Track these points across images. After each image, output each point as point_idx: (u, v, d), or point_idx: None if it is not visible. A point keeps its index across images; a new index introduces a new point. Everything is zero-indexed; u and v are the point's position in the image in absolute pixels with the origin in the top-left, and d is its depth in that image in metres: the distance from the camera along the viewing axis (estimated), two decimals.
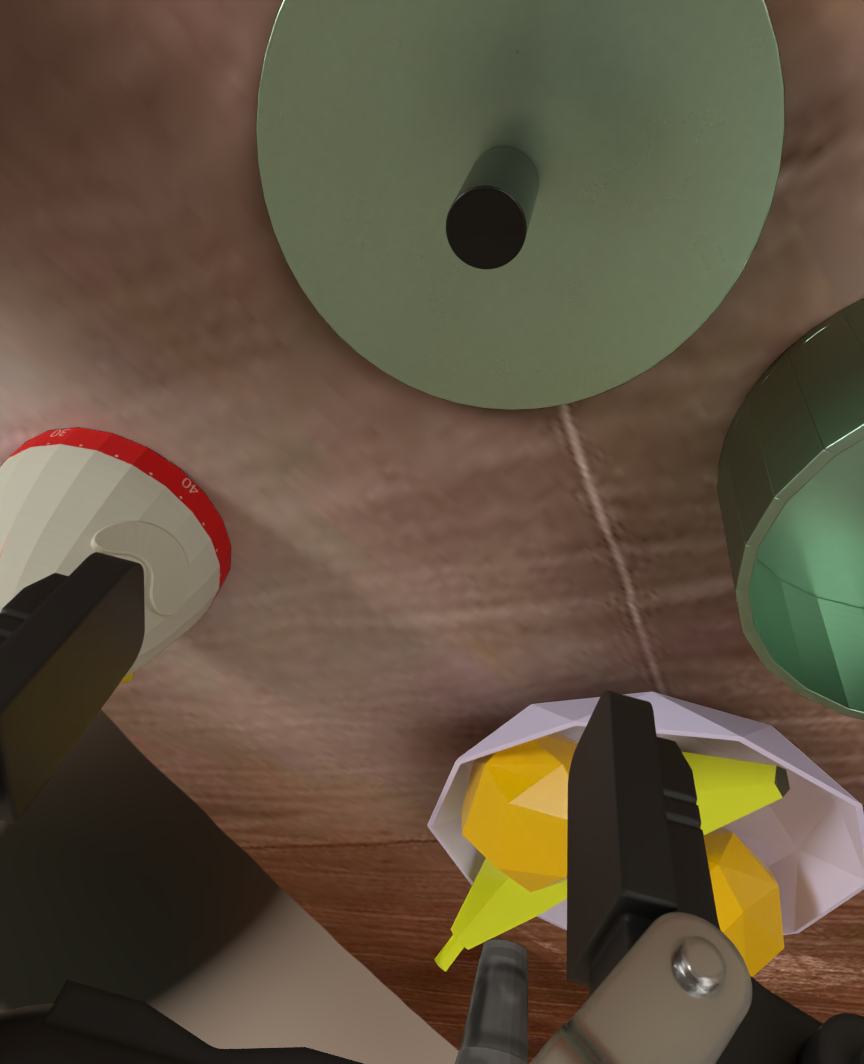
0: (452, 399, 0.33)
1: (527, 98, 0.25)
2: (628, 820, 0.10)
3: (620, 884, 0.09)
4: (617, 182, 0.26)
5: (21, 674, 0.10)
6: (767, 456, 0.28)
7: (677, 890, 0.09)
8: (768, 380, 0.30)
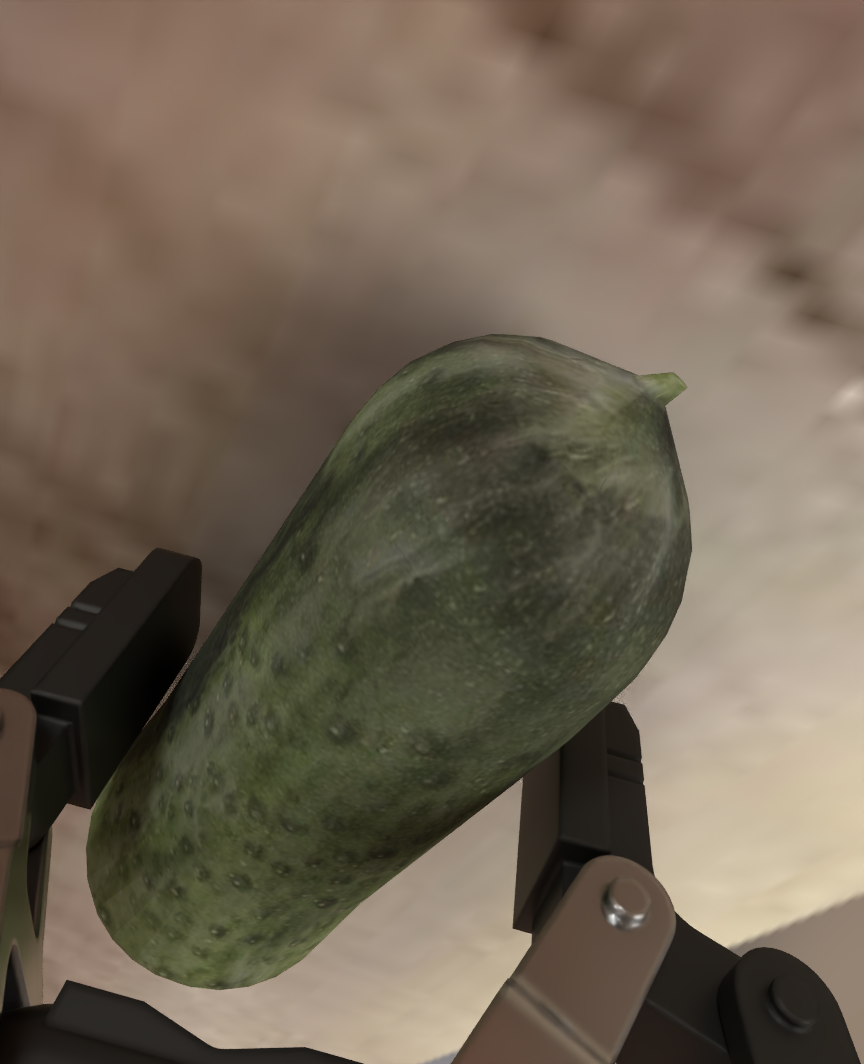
0: None
1: None
2: (569, 773, 0.10)
3: (558, 831, 0.09)
4: None
5: (100, 664, 0.10)
6: None
7: (615, 839, 0.10)
8: None
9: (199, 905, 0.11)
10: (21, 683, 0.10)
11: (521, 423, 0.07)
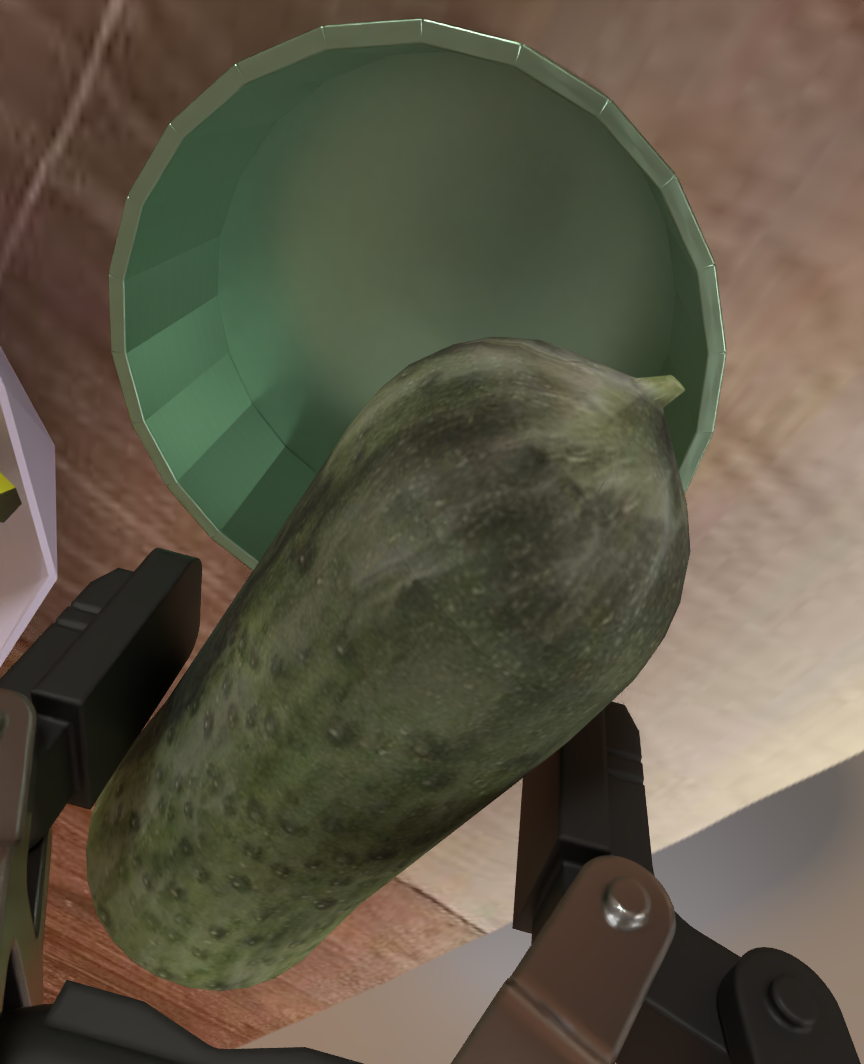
0: None
1: None
2: (570, 773, 0.10)
3: (558, 830, 0.09)
4: None
5: (100, 664, 0.10)
6: None
7: (615, 839, 0.10)
8: None
9: (199, 906, 0.11)
10: (21, 683, 0.10)
11: (520, 426, 0.07)
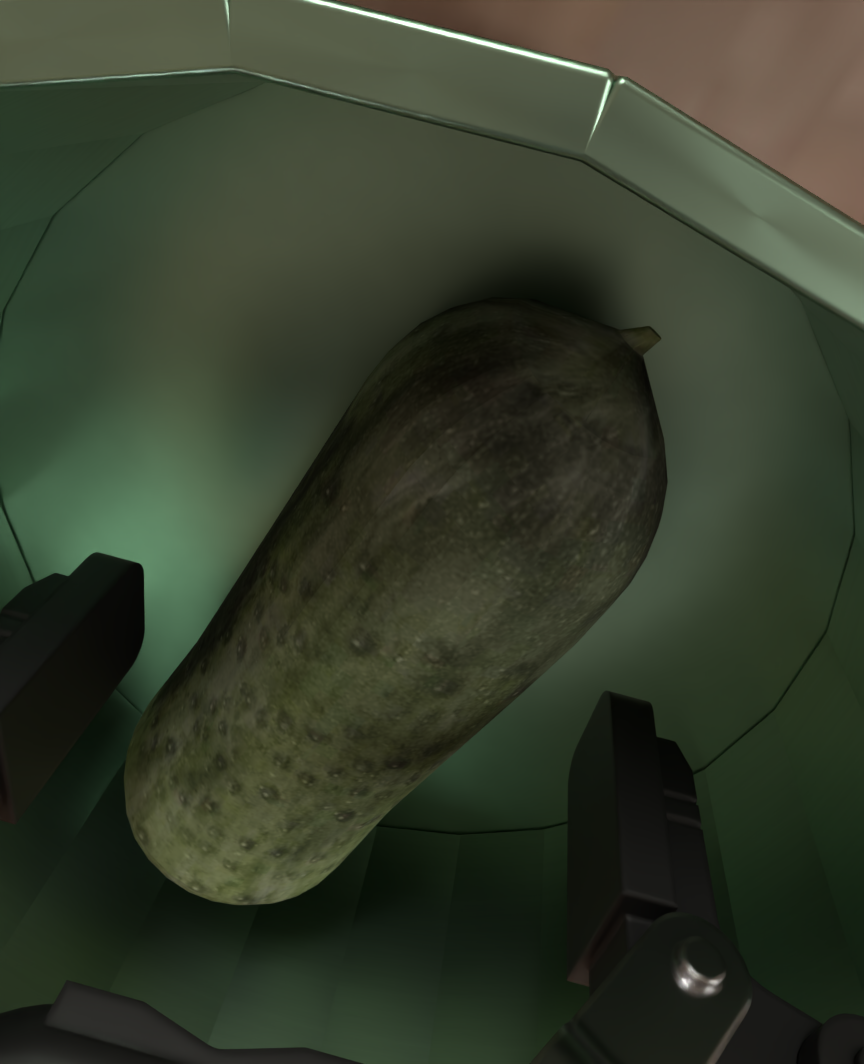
0: None
1: None
2: (628, 820, 0.10)
3: (620, 884, 0.09)
4: None
5: (21, 674, 0.10)
6: None
7: (677, 890, 0.09)
8: None
9: (231, 818, 0.12)
10: None
11: (518, 366, 0.09)
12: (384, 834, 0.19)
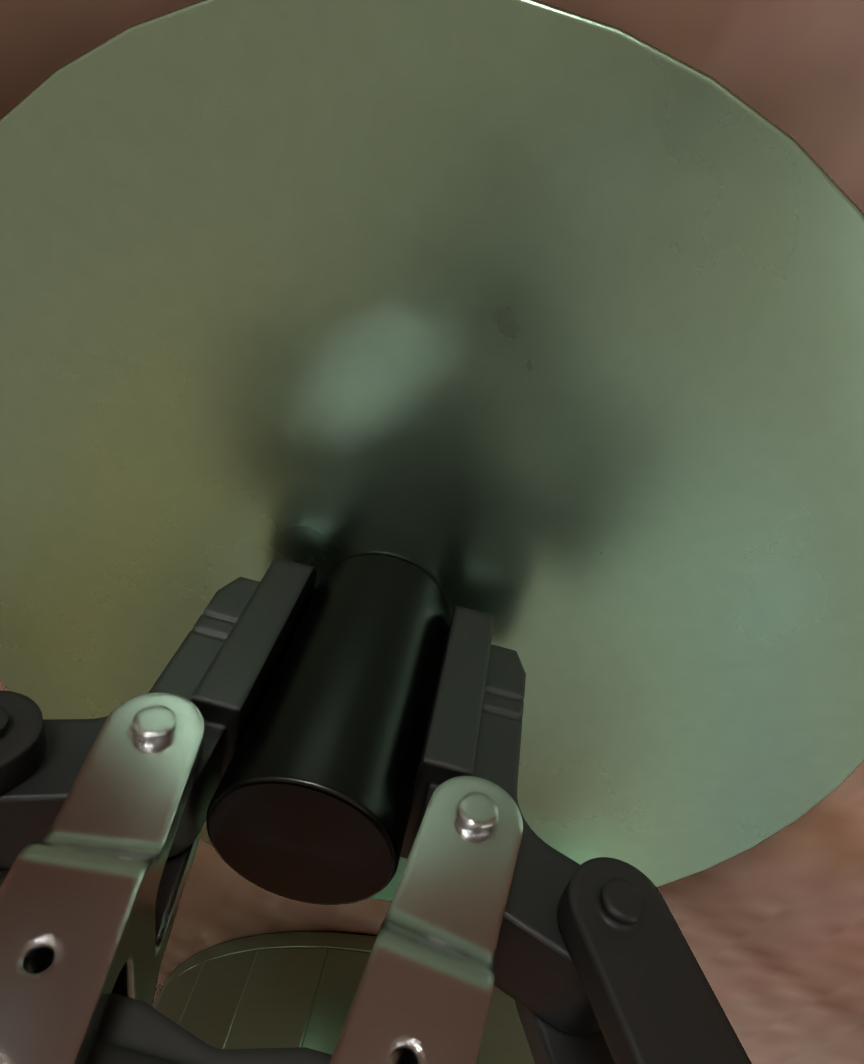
0: None
1: (536, 594, 0.13)
2: (444, 706, 0.11)
3: (423, 755, 0.10)
4: None
5: (248, 670, 0.10)
6: None
7: (485, 766, 0.10)
8: (364, 961, 0.21)
9: None
10: (173, 687, 0.10)
11: None
12: None
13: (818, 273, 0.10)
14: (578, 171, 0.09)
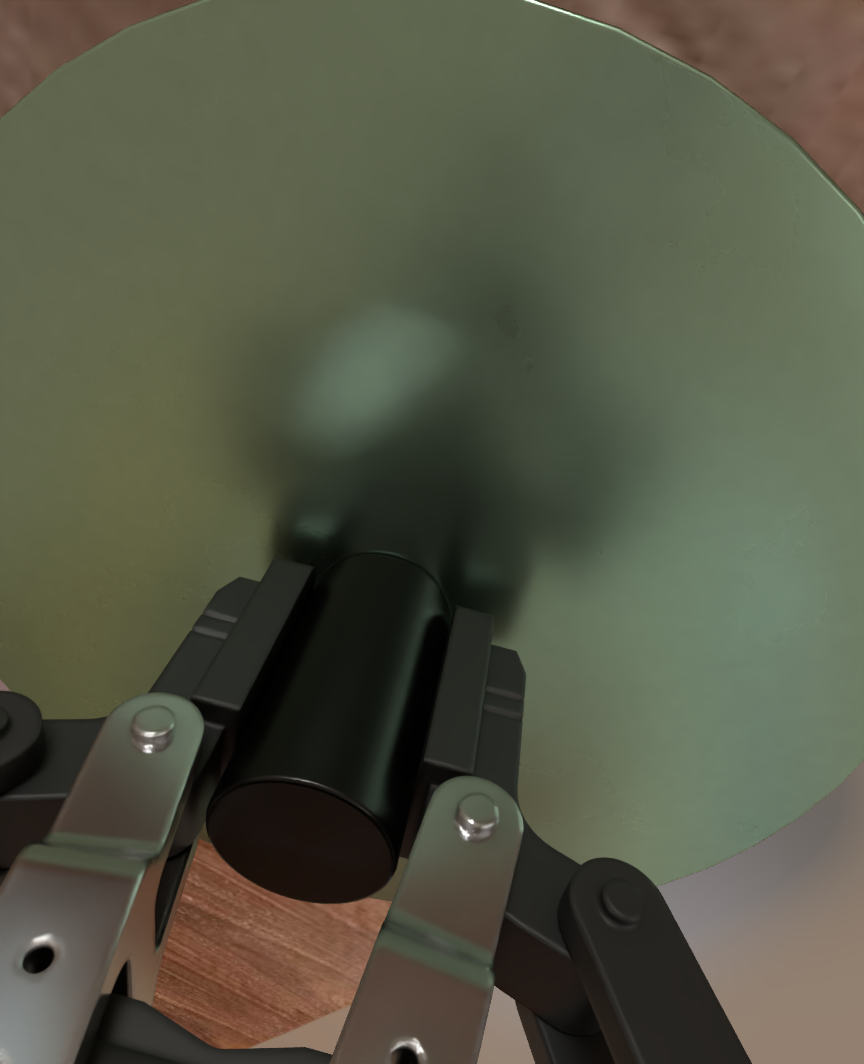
0: None
1: (535, 594, 0.13)
2: (445, 706, 0.11)
3: (424, 755, 0.10)
4: None
5: (248, 670, 0.10)
6: None
7: (485, 766, 0.10)
8: None
9: None
10: (173, 688, 0.10)
11: None
12: None
13: (818, 272, 0.10)
14: (578, 170, 0.09)
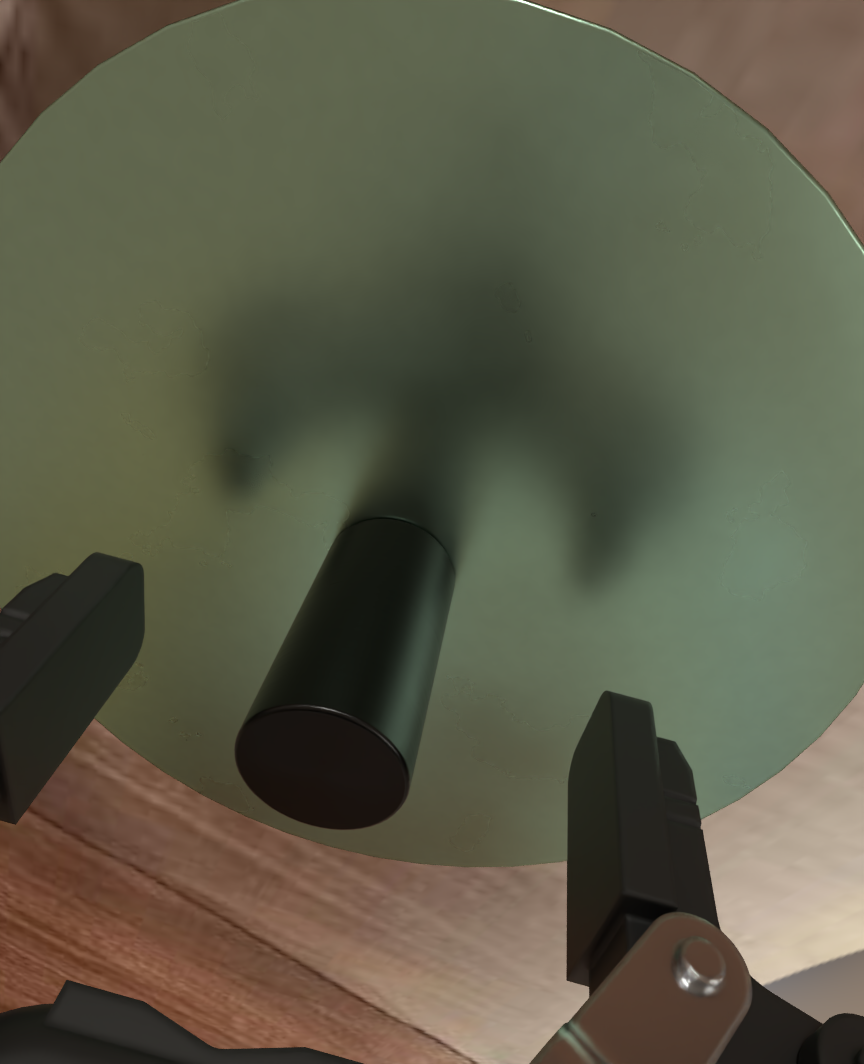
0: None
1: (534, 555, 0.14)
2: (628, 820, 0.10)
3: (621, 885, 0.09)
4: (489, 710, 0.16)
5: (21, 674, 0.10)
6: None
7: (677, 890, 0.09)
8: None
9: None
10: None
11: None
12: None
13: (791, 251, 0.11)
14: (573, 157, 0.10)
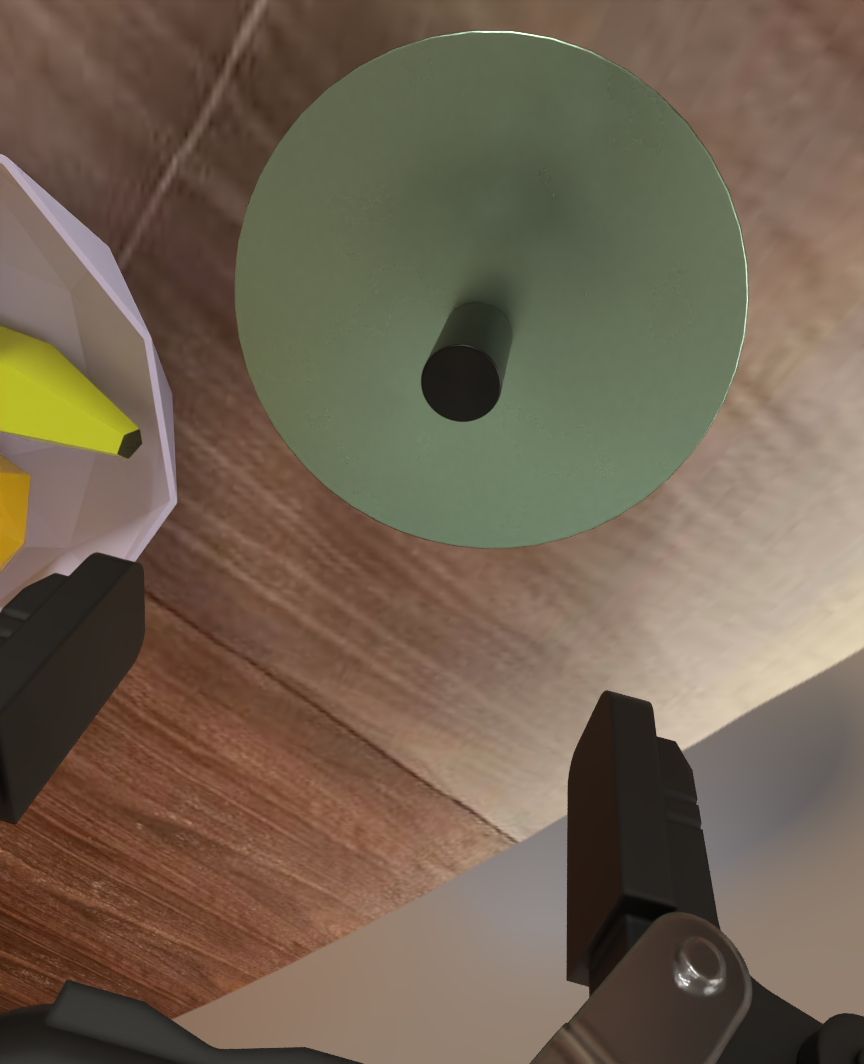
0: (258, 390, 0.30)
1: (554, 321, 0.27)
2: (628, 820, 0.10)
3: (620, 884, 0.09)
4: (528, 426, 0.29)
5: (21, 674, 0.10)
6: None
7: (677, 890, 0.09)
8: None
9: None
10: None
11: None
12: None
13: (673, 149, 0.23)
14: (574, 107, 0.23)
